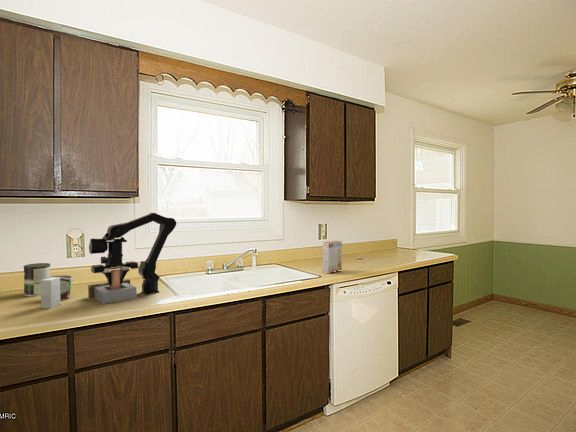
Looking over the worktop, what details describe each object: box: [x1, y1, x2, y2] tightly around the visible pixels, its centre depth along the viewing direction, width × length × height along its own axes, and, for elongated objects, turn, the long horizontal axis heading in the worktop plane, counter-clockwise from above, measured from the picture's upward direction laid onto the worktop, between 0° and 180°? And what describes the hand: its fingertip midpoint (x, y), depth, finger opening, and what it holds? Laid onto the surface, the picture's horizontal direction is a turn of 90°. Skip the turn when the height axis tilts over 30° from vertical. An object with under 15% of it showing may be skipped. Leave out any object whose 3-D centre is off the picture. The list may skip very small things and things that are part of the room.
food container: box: [44, 274, 74, 301], centre depth 150 cm, size 12×6×10 cm, turn 92°
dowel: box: [109, 269, 120, 290], centre depth 151 cm, size 4×4×11 cm
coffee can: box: [23, 262, 51, 297], centre depth 157 cm, size 10×10×14 cm
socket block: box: [93, 283, 137, 305], centre depth 151 cm, size 14×14×5 cm
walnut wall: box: [87, 279, 131, 299], centre depth 156 cm, size 18×2×6 cm, turn 135°
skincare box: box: [40, 277, 61, 310], centre depth 137 cm, size 6×4×12 cm
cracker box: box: [322, 240, 343, 274], centre depth 219 cm, size 14×6×21 cm, turn 133°
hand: (115, 285), depth 151 cm, fingers closed on dowel, 4 cm apart
